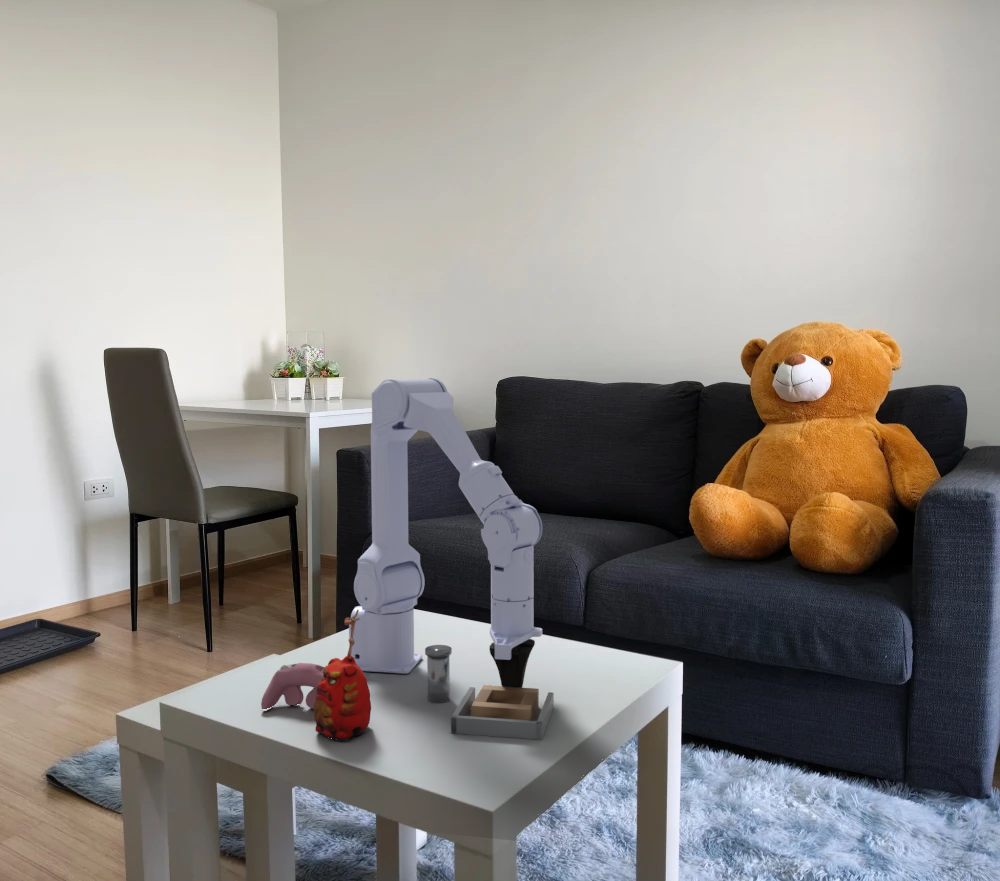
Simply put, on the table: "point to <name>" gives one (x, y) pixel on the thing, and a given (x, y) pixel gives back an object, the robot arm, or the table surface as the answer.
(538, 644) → the table surface
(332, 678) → the red clay folk toy
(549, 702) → the grey u-shaped bracket
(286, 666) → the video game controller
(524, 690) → the wooden square frame
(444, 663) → the silver cylindrical piece
